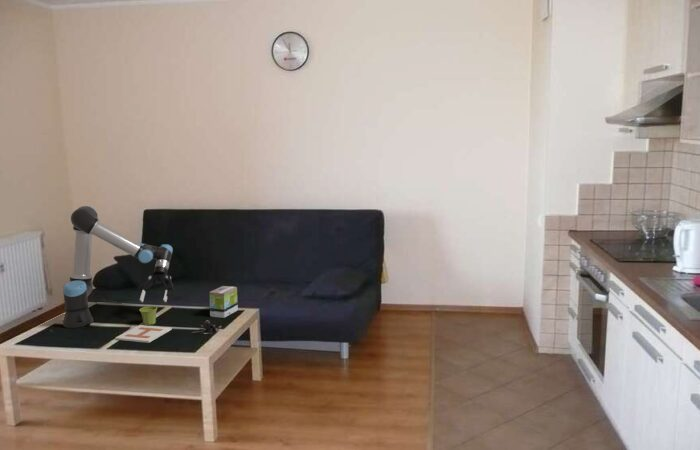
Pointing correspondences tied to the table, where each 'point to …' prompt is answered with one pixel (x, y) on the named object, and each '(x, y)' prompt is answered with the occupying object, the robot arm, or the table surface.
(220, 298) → the tea box
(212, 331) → the stuffed animal
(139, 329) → the letter board
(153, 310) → the plant pot
